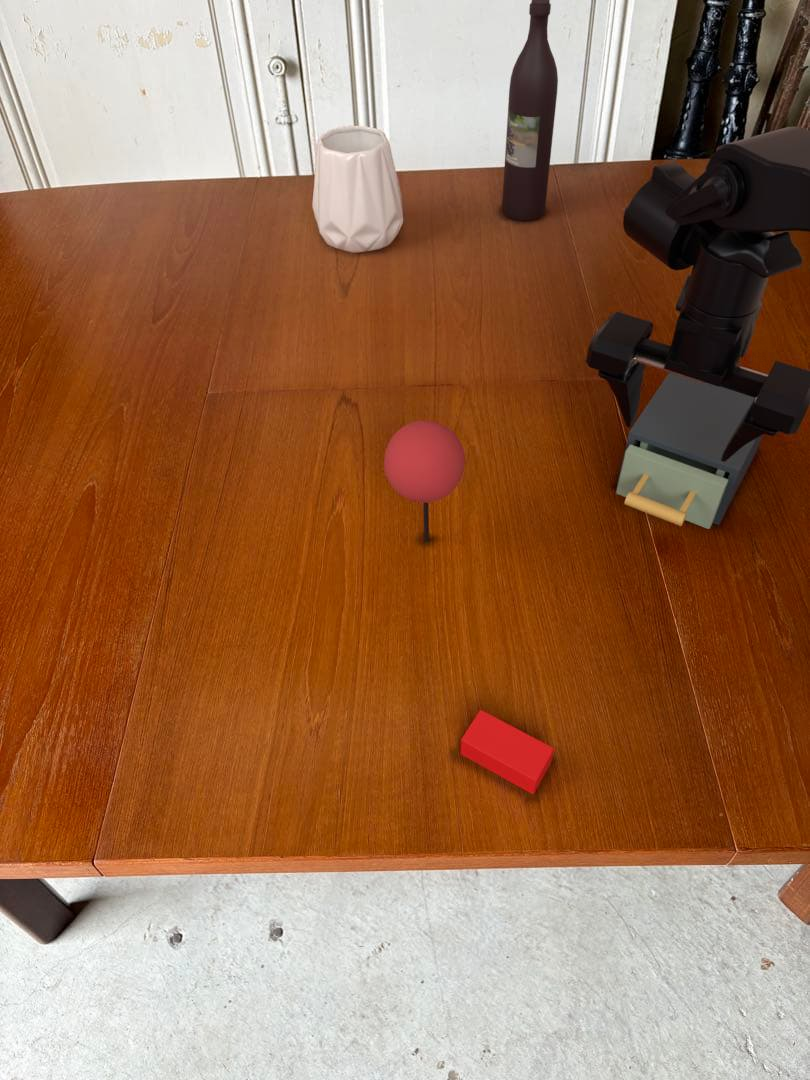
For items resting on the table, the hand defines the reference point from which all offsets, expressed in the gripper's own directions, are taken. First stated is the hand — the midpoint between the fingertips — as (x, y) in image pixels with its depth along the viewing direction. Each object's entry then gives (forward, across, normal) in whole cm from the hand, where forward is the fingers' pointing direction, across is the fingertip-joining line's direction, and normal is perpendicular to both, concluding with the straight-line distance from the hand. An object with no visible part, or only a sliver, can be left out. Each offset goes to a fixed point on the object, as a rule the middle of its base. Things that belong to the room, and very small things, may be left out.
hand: (676, 441), depth 77 cm
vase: (+15, +62, -37) cm, 74 cm away
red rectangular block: (+12, +1, +31) cm, 34 cm away
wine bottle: (+15, +43, -57) cm, 73 cm away
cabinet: (+13, -1, -11) cm, 17 cm away
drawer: (+12, -1, -6) cm, 13 cm away
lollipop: (+13, +20, +13) cm, 27 cm away
